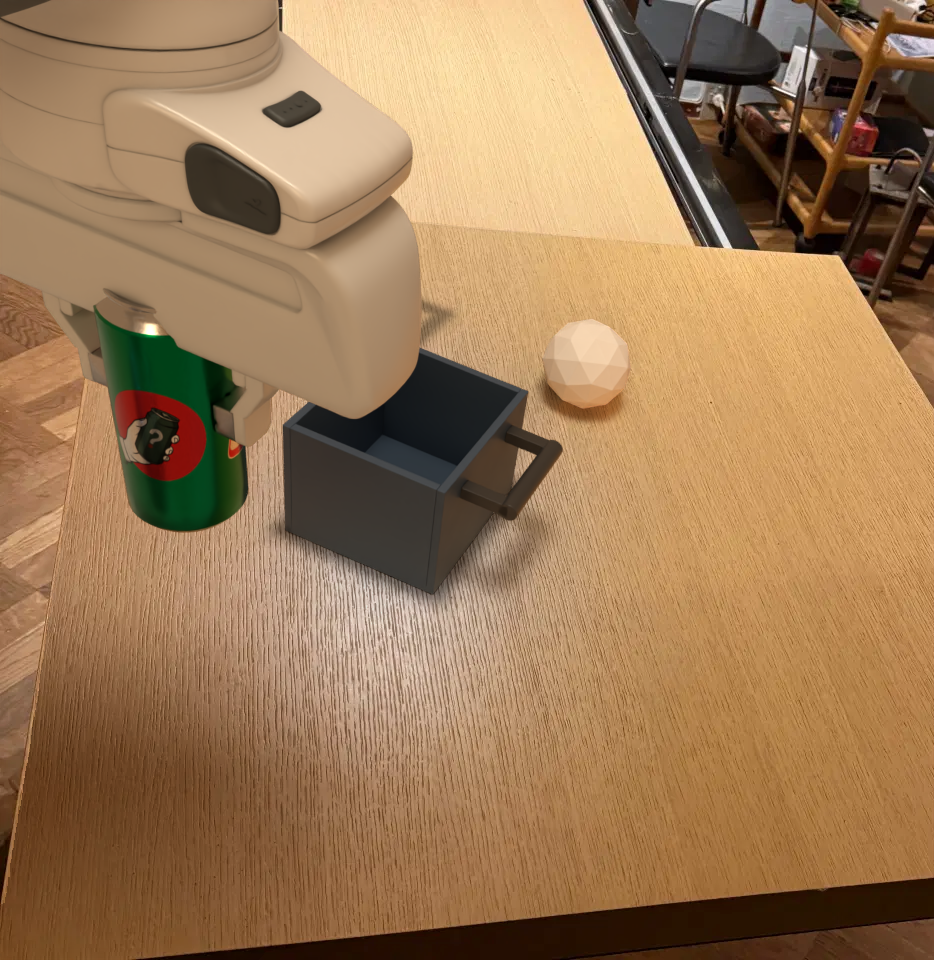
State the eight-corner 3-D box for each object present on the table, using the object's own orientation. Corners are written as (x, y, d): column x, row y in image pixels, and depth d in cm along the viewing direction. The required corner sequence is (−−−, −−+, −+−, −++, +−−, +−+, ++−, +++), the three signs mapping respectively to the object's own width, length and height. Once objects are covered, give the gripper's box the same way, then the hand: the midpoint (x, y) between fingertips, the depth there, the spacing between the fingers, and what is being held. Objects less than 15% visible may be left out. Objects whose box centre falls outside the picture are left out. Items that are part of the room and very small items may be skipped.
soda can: (264, 521, 47) (252, 302, 39) (147, 553, 44) (108, 324, 36) (228, 453, 49) (210, 234, 41) (115, 479, 47) (73, 250, 39)
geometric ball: (563, 430, 92) (527, 387, 86) (565, 357, 96) (530, 309, 89) (642, 416, 90) (612, 371, 84) (641, 342, 94) (612, 292, 87)
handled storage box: (284, 530, 73) (281, 424, 67) (379, 433, 83) (385, 333, 76) (486, 618, 71) (503, 518, 65) (559, 508, 81) (580, 411, 74)
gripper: (-204, 8, 33) (-90, 354, 42) (356, 224, 30) (348, 543, 39) (-41, -32, 37) (30, 287, 46) (456, 153, 35) (428, 452, 44)
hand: (179, 406), depth 43 cm, fingers closed on soda can, 5 cm apart
